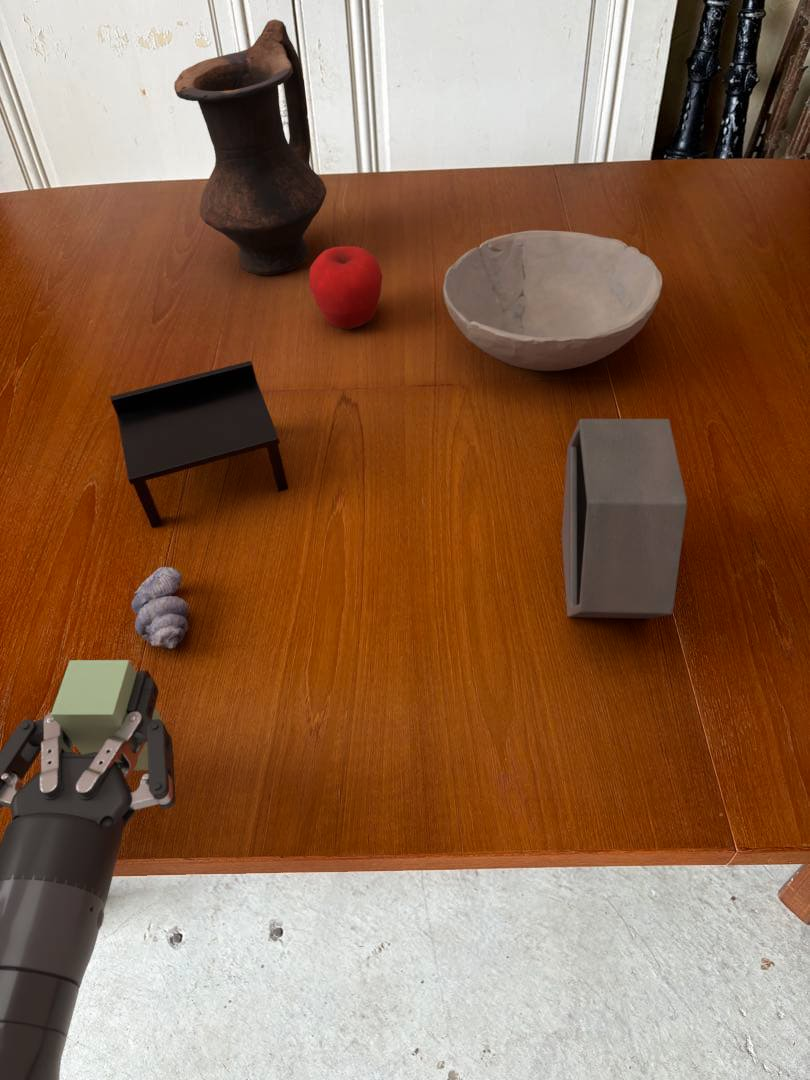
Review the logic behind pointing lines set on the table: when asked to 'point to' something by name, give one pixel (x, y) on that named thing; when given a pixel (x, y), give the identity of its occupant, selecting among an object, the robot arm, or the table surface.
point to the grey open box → (622, 519)
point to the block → (96, 703)
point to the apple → (346, 285)
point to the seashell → (161, 609)
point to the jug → (257, 151)
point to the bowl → (551, 297)
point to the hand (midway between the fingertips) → (113, 676)
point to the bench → (194, 427)
